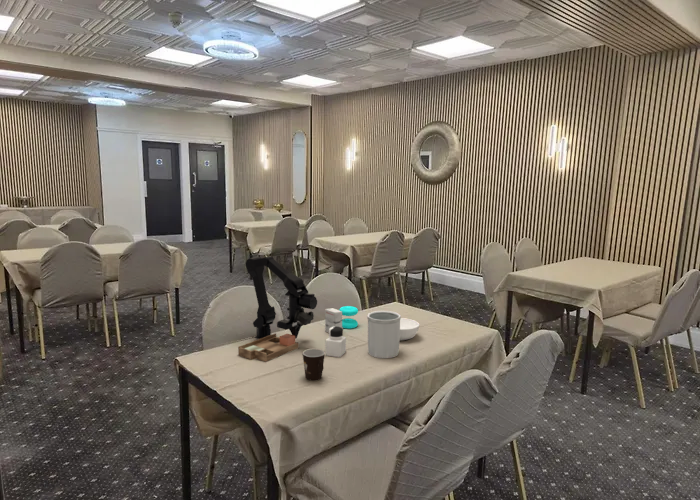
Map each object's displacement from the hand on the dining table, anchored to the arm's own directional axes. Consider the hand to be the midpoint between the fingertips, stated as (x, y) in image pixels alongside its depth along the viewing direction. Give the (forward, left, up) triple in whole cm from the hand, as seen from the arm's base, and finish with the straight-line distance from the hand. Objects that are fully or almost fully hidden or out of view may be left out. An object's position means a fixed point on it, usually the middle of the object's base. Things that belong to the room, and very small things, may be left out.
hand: (295, 338), depth 214 cm
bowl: (+33, +40, -4) cm, 52 cm away
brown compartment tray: (-4, -13, -3) cm, 14 cm away
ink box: (+3, +25, -4) cm, 26 cm away
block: (0, -5, -1) cm, 5 cm away
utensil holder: (+37, +17, -4) cm, 41 cm away
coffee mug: (+30, -23, -4) cm, 38 cm away
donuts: (+3, +38, -4) cm, 39 cm away
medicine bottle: (+21, +3, -4) cm, 22 cm away
